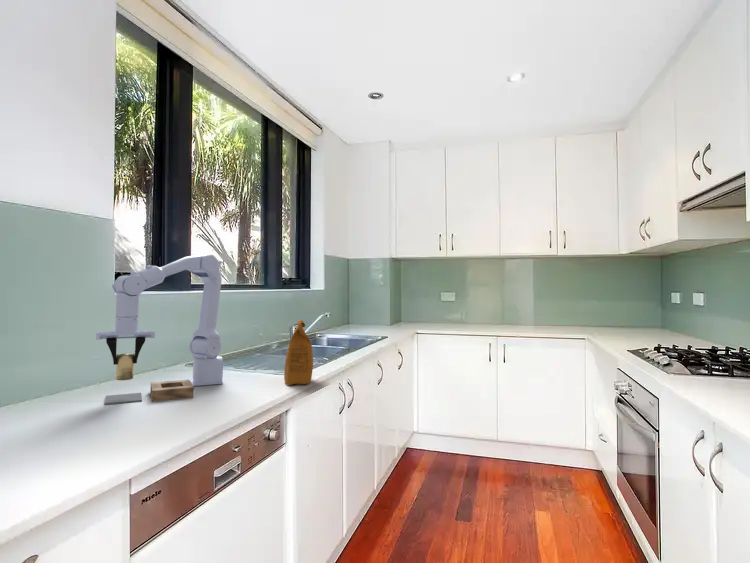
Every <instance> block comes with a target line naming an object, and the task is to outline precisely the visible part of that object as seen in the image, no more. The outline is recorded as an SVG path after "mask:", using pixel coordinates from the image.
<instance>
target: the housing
mask: <svg viewBox="0 0 750 563" xmlns="http://www.w3.org/2000/svg"><path fill="white" fill-rule="evenodd" d="M190 380H191V379H182V380H181V379H179V380H169V381H168V380H167V381H166V380H165V381H154V382H150V392H149V393H150V399H151V402H158V401H168V400H178V399H188V398H194V392H195V391H194V390H195V389H194V388H195V386H193V385H192V383H191V382H190Z"/></svg>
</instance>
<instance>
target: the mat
mask: <svg viewBox="0 0 750 563" xmlns="http://www.w3.org/2000/svg"><path fill="white" fill-rule="evenodd" d="M138 402H139V403H140V402H143V396H142V392H131V393H121V394H120V393H119V394H110V395H106V396H105V400H104V406H107V405H109V406H110V405H119V404H127V403H138Z"/></svg>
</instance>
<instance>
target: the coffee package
mask: <svg viewBox="0 0 750 563" xmlns="http://www.w3.org/2000/svg"><path fill="white" fill-rule="evenodd" d="M296 324H297V325H296V327H295V330H294V332H293V333H292V336H291V338H290V340H289V341H290V342H289V344H288V347H287V350H286V355H285V362H284V376H283V378H284V379H283V380H284V383H285V384H286V386H294V385H293V384H297V385H306V384H311V382H312V376H313V370H314V369H313V368H314V356H313V354H314V353H313V345H312V341H311V340H310V338H309V336H308V335H307V333H306V332H305V330H304V328H305V327H306V324H305V322H304V321H303V319H300V320H298V321H296Z"/></svg>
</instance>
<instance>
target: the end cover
mask: <svg viewBox="0 0 750 563" xmlns="http://www.w3.org/2000/svg"><path fill="white" fill-rule="evenodd" d="M116 355H117V363H116V366H115V380H116V381H130V380H134V375H135V374H134V371H135V370H134V369H135V363H134V355H135V353H131V352H125V353H124V352H123V353H118V354H117V353H116Z"/></svg>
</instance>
